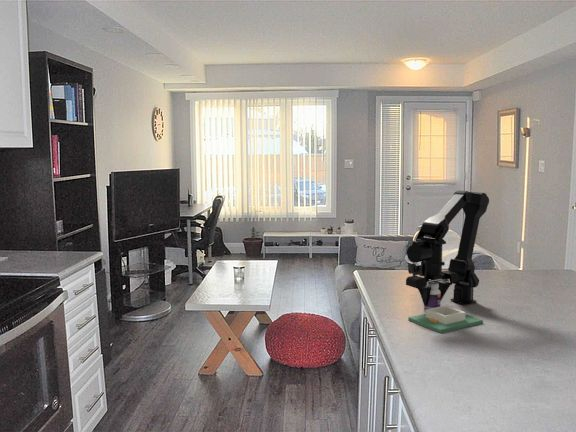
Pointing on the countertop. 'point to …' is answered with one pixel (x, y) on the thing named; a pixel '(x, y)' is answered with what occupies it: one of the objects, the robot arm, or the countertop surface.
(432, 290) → the pill bottle
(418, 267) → the robot arm
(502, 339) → the countertop surface
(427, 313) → the board
